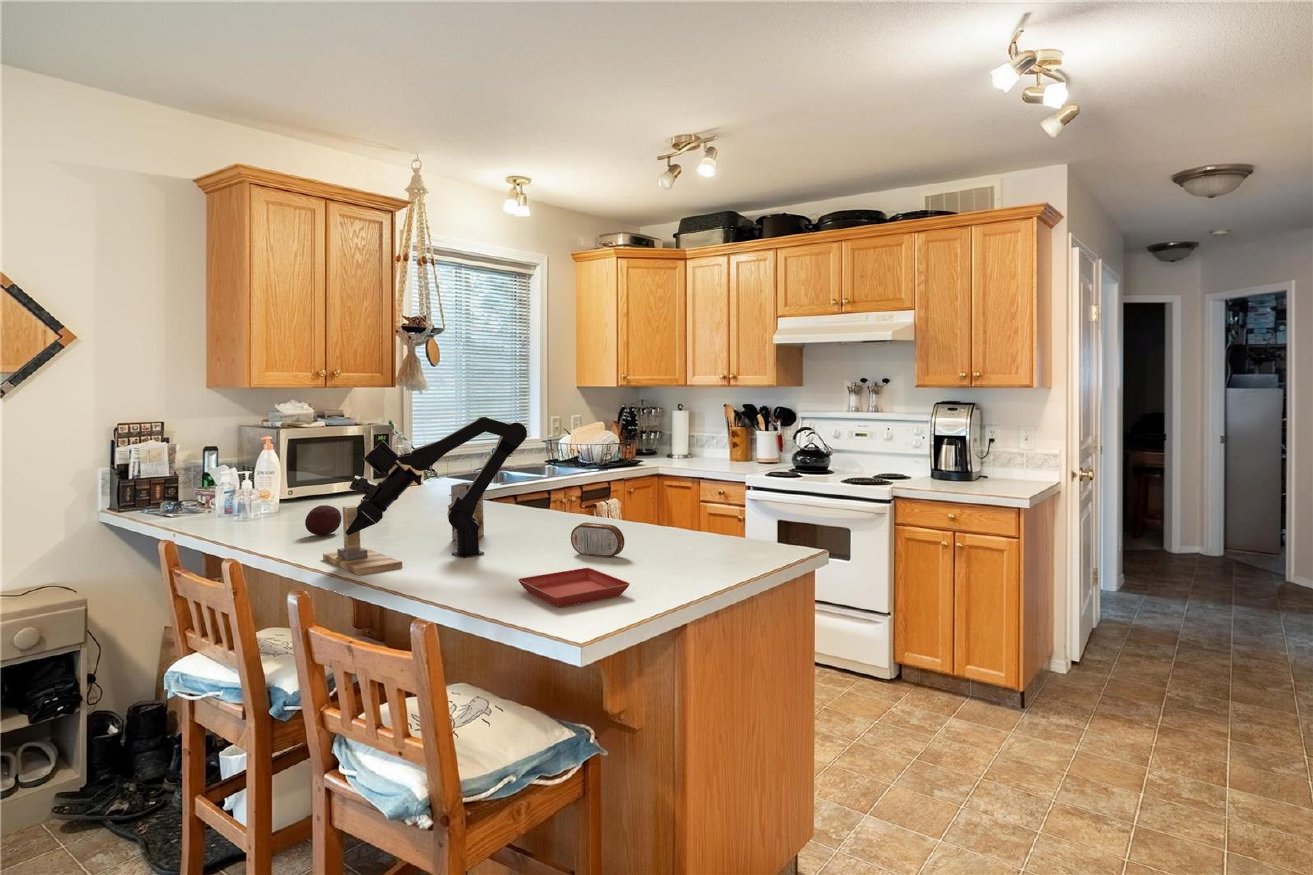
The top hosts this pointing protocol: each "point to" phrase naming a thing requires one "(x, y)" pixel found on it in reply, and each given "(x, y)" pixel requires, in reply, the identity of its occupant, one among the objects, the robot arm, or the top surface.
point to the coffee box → (478, 513)
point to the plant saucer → (574, 586)
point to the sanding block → (351, 537)
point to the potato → (323, 520)
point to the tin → (597, 539)
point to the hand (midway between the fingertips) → (348, 530)
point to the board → (364, 562)
